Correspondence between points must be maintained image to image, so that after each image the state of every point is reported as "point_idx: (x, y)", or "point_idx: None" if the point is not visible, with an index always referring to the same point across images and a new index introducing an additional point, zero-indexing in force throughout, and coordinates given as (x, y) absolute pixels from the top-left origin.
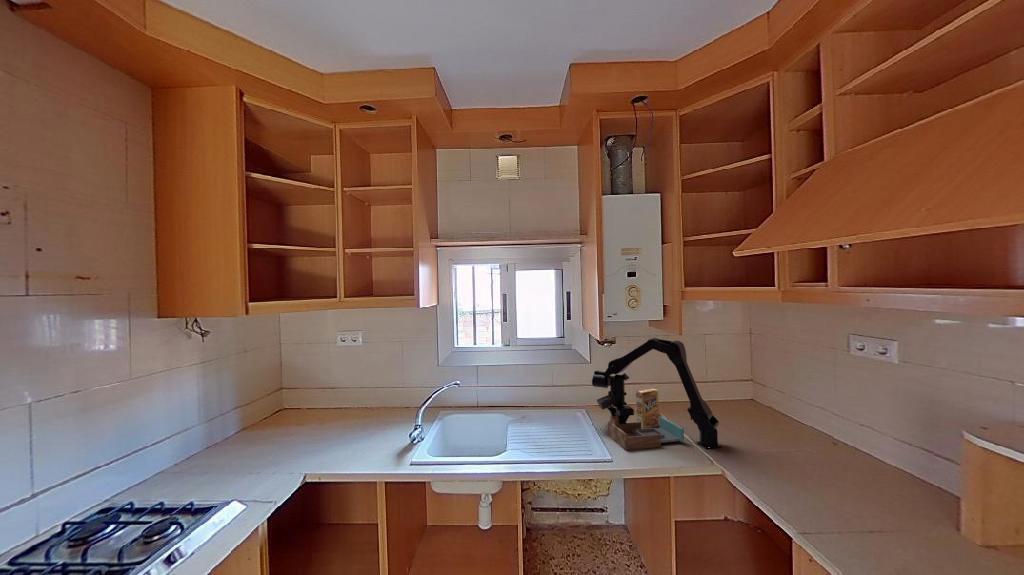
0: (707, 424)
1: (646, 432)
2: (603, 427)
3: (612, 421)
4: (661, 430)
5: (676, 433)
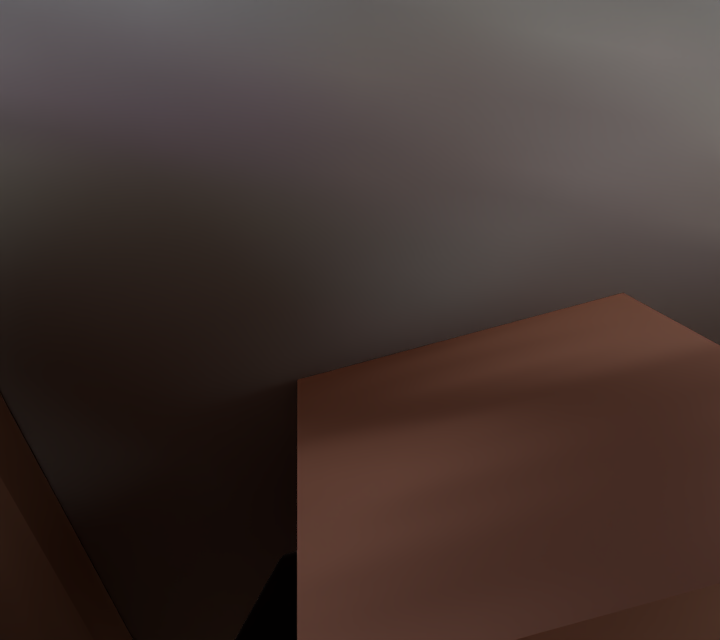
0: None
1: None
2: (717, 101)
3: (555, 485)
4: None
5: None
